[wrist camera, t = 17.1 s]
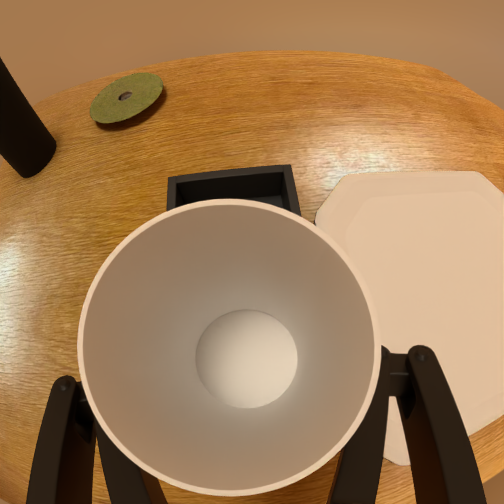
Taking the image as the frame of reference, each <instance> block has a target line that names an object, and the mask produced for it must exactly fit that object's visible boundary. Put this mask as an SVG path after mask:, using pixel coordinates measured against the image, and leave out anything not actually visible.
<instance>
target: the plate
mask: <svg viewBox="0 0 504 504" xmlns="http://www.w3.org/2000/svg"><path fill="white" fill-rule="evenodd" d="M314 222H315V226H317V227H318V228H319V229H321V230H322V231H323V232H325V233H326V234H327V235H328V236H329V237H331V238H332V239H333V240H334V241H335V242H336V243H337V244H338V245H339V246H340V247H341V248H342V249H343V250H344V251H345V253H346V254H347V255H348V256H349V258H350V259H351V260H352V261H353V263H354V264H355V266H356V267H357V269H358V270H359V272H360V273H361V275H362V277H363V279H364V281H365V283H366V285H367V287H368V289H369V291H370V294H371V296H372V299H373V302H374V305H375V308H376V312H377V316H378V321H379V326H380V335H381V345H383V346H384V347H386V348H387V349H388V350H389V351H390V353H398V354H408V351H409V349H410V348H411V347H413V346H415V345H424V346H428V347H429V348H431V349H432V350H433V351H434V353H435V355H436V357H437V359H438V361H439V364H440V366H441V368H442V370H443V373H444V375H445V377H446V380H447V382H448V385H449V387H450V389H451V392H452V394H453V397H454V399H455V402H456V404H457V407H458V410H459V412H460V415H461V418H462V420H463V423H464V426H465V429H466V432H467V435H468V436H470V435H472V434H473V433H475V432H477V431H478V430H480V429H482V428H483V427H485V426H487V425H488V424H490V423H491V422H493V421H495V420H496V419H498V418H499V417H501V416H502V415H504V194H503V193H502V192H501V191H500V190H499V189H498V188H497V187H496V186H494V185H493V184H492V183H491V182H490V181H489V180H488V179H487V178H485V177H484V176H483V175H482V174H481V173H478V172H476V171H406V172H378V173H359V174H348V175H346V176H344V177H342V178H341V180H340V181H339V182H338V184H337V185H336V186H335V188H334V189H333V191H332V192H331V193H330V195H329V196H328V197H327V199H326V200H325V201H324V203H323V204H322V205H321V207H320V208H319V209H318V211H317V212H316V215H315V220H314ZM383 458H385V459H387V460H389V461H391V462H393V463H395V464H397V465H399V466H405V465H410V460H409V455H408V449H407V445H406V440H405V435H404V430H403V426H402V422H401V417H400V413H399V409H398V405H397V401H396V397H395V396H389V407H388V419H387V429H386V438H385V446H384V454H383Z"/></svg>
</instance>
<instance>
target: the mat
mask: <svg viewBox="0 0 504 504" xmlns="http://www.w3.org/2000/svg"><path fill="white" fill-rule="evenodd" d="M162 88H163V82H162V80H161V78H160V77H158V76H157V75H155V74H151V73H137V74H132V75H129V76H125V77H122V78H120V79H118V80H116V81H114V82H113V83H111V84H110V85H108V86H106V87H105V88H104V89H103V90H102V91H101V92H100V93H99V94H98V95H97V96H96V97H95V99H94V100H93V102H92V104H91V108H90V116H91V118H92V119H93V120H95V121H97V122H100V123H112V122H118V121H121V120H125V119H128V118H130V117H132V116H135V115H136V114H137V113H139V112H141V111H143V110H144V109H146V108H147V107H148V106H149V105H151V104H152V103H153V102H154V101H155V100H156V99H157V98H158V96H159V95H160V93H161V91H162Z"/></svg>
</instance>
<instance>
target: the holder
mask: <svg viewBox="0 0 504 504" xmlns="http://www.w3.org/2000/svg"><path fill="white" fill-rule="evenodd" d="M214 199H243V200H250V201H257V202H261V203H266V204H270V205H273V206H276V207H279V208H282V209H285V210H287V211H289V212H292V213H294V214H296V215H298V216H300V217H301V212H300V207H299V202H298V197H297V192H296V187H295V182H294V177H293V173H292V168H291V165H290V164H289V165H273V166H260V167H249V168H238V169H228V170H219V171H211V172H202V173H194V174H187V175H180V176H177V177H176V176H173V177H168V190H167V211H169V210H172V209H174V208H177V207H180V206H183V205H187V204H191V203H195V202H199V201H206V200H214Z"/></svg>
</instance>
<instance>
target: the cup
mask: <svg viewBox="0 0 504 504" xmlns="http://www.w3.org/2000/svg"><path fill="white" fill-rule="evenodd" d="M77 350H78V364H79V371H80V376H81V380H82V385H83V388H84V391H85V394H86V397H87V400H88V402H89V404H90V407H91V409H92V411H93V413H94V415H95V417H96V419H97V420H98V422H99V424H100V425H101V427H102V428H103V430H104V431H105V433H106V434H107V435H108V437H109V438H110V439H111V440H112V442H113V443H114V444H115V445H116V446H117V447H118V448H119V449H120V450H121V451H122V452H123V453H124V454H125V455H126V456H127V457H128V458H129V459H130V460H131V461H133V462H134V463H135V464H137V465H138V466H139V467H141V468H142V469H143V470H145V471H147V472H148V473H150V474H151V475H153V476H155V477H156V478H158V479H161V480H163V481H165V482H167V483H169V484H171V485H174V486H177V487H179V488H182V489H185V490H189V491H193V492H197V493H201V494H208V495H215V496H245V495H253V494H259V493H264V492H268V491H272V490H275V489H279V488H282V487H284V486H287V485H289V484H292V483H294V482H296V481H298V480H300V479H302V478H304V477H306V476H308V475H309V474H311V473H313V472H314V471H316V470H317V469H319V468H320V467H322V466H323V465H324V464H325V463H326V462H328V461H329V460H330V459H331V458H332V457H334V456H335V455H336V454H337V453H338V452H339V451H340V450H341V449H342V448H343V446H344V445H345V444H346V443H347V442H348V441H349V439H350V438H351V437H352V435H353V434H354V433H355V431H356V430H357V428H358V427H359V425H360V423H361V422H362V420H363V418H364V416H365V414H366V412H367V410H368V408H369V406H370V404H371V401H372V398H373V395H374V392H375V389H376V385H377V381H378V377H379V371H380V363H381V335H380V326H379V321H378V316H377V312H376V308H375V305H374V302H373V299H372V296H371V294H370V291H369V289H368V287H367V285H366V283H365V281H364V279H363V277H362V275H361V273H360V272H359V270H358V269H357V267H356V266H355V264H354V263H353V261H352V260H351V259H350V258H349V256H348V255H347V254H346V253H345V251H344V250H343V249H342V248H341V247H340V246H339V245H338V244H337V243H336V242H335V241H334V240H333V239H332V238H331V237H329V236H328V235H327V234H326V233H325V232H323V231H322V230H321V229H319V228H318V227H317V226H315V225H314V224H312V223H311V222H309V221H307V220H306V219H304V218H302V217H300V216H298V215H296V214H294V213H292V212H289V211H287V210H285V209H282V208H279V207H276V206H273V205H270V204H266V203H261V202H257V201H250V200H243V199H214V200H206V201H199V202H195V203H191V204H187V205H183V206H180V207H177V208H174V209H172V210H169V211H167V212H165V213H162V214H160V215H159V216H157V217H155V218H153V219H151V220H149V221H148V222H146V223H145V224H143V225H142V226H140V227H139V228H137V229H136V230H135V231H134V232H132V233H131V234H130V235H129V236H127V237H126V238H125V239H124V240H123V241H122V242H121V243H120V244H119V245H118V246H117V247H116V248H115V249H114V251H113V252H112V253H111V254H110V255H109V256H108V258H107V259H106V261H105V262H104V263H103V265H102V266H101V268H100V269H99V271H98V273H97V274H96V276H95V278H94V280H93V282H92V284H91V286H90V288H89V291H88V293H87V296H86V299H85V301H84V305H83V308H82V312H81V316H80V322H79V328H78V341H77Z"/></svg>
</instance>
